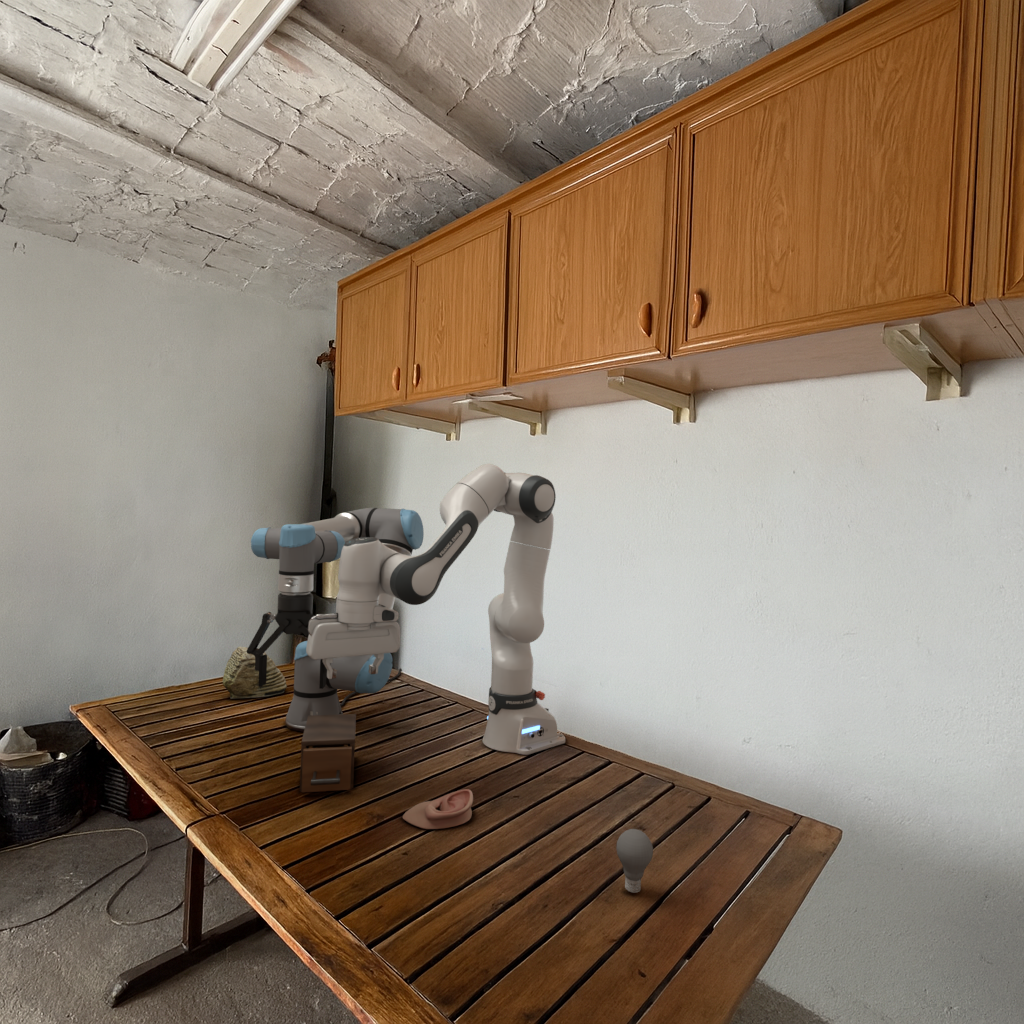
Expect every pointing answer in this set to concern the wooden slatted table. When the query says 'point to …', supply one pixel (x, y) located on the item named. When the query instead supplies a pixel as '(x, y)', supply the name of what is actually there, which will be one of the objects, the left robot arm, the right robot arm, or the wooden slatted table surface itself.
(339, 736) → the cabinet
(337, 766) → the drawer
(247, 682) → the fossil
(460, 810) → the anatomical model
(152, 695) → the wooden slatted table surface
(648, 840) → the light bulb
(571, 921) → the wooden slatted table surface
